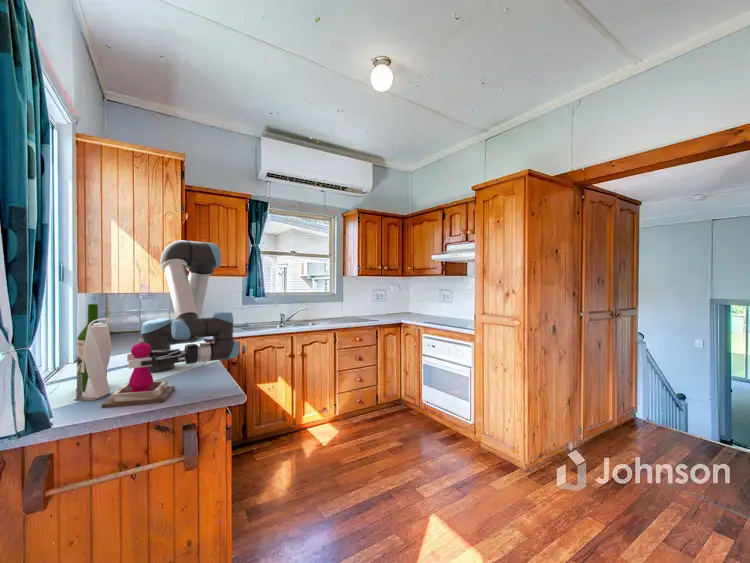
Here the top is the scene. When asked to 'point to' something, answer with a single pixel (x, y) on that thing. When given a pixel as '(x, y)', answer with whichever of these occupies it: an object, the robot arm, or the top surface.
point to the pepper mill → (141, 369)
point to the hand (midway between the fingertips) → (127, 361)
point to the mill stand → (139, 395)
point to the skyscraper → (95, 362)
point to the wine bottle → (81, 342)
